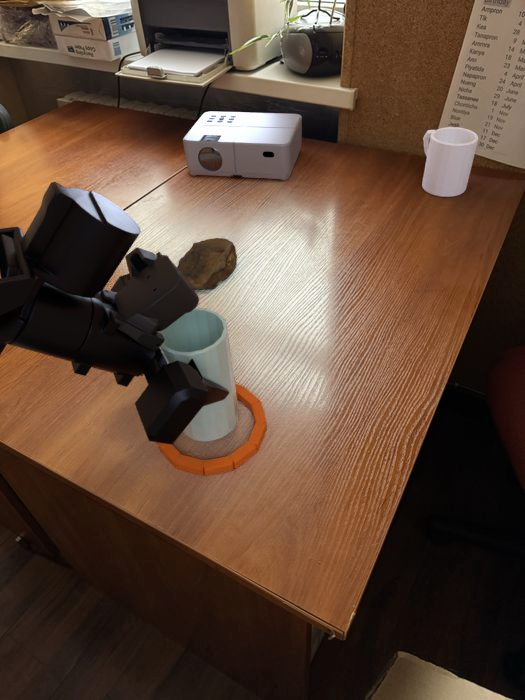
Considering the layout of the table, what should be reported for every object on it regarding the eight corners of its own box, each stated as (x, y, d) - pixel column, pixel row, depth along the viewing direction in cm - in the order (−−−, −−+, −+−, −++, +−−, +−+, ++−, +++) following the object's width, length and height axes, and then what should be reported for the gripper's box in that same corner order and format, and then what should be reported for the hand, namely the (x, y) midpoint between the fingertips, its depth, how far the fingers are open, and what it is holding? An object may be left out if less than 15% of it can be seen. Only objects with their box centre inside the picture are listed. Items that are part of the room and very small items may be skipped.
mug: (434, 166, 103) (444, 117, 96) (474, 191, 95) (488, 138, 88) (401, 175, 101) (409, 125, 94) (439, 201, 93) (450, 148, 86)
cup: (170, 438, 55) (145, 351, 46) (187, 391, 60) (168, 305, 51) (231, 445, 54) (217, 357, 45) (243, 397, 58) (234, 310, 50)
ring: (161, 485, 53) (159, 479, 52) (155, 398, 62) (153, 392, 61) (276, 461, 55) (275, 455, 54) (253, 379, 63) (253, 373, 62)
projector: (209, 145, 117) (204, 110, 111) (302, 149, 113) (302, 112, 107) (186, 177, 105) (179, 140, 100) (289, 183, 101) (288, 144, 96)
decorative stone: (220, 296, 76) (218, 277, 73) (163, 287, 78) (159, 269, 76) (242, 258, 83) (240, 239, 81) (189, 250, 85) (186, 232, 83)
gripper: (161, 316, 33) (305, 373, 44) (99, 199, 45) (223, 266, 56) (78, 433, 36) (231, 459, 47) (40, 294, 49) (169, 340, 60)
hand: (213, 372), depth 52 cm, fingers closed on cup, 7 cm apart
